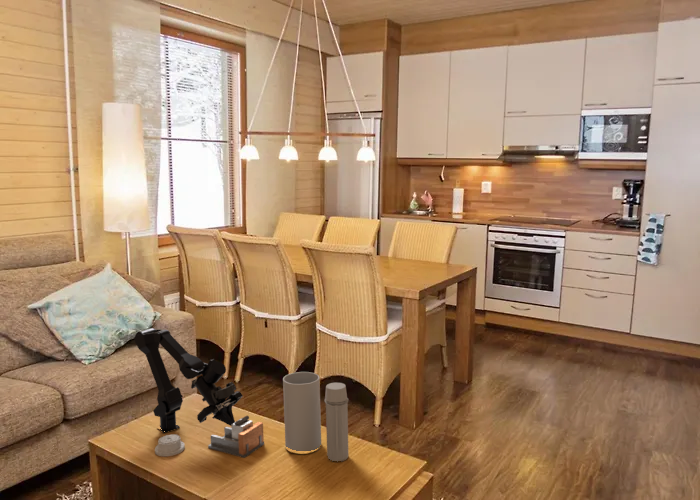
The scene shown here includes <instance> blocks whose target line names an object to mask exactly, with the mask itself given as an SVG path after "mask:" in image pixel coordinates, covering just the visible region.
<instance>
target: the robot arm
mask: <svg viewBox="0 0 700 500" xmlns="http://www.w3.org/2000/svg"><path fill="white" fill-rule="evenodd" d="M133 338H134V342H135V344H136V347H137V348H138V350H139V351H140V352H141V353H143V354H144V355H145V357H146V360H147V362H148V364H149V368H150V371H151V373H152V377H153V379H154V381H155V385H156V387H157V389H158V390H157V398H156V401H157V406H156V407H155V408H153V410H152V411H153V414H154V416H155V417H158V418H159V423H160V424H159V426H160V427H161V429H162V430H161V429H160V430H161V431H162V432H161V431H160V430H159V431H160V432H161V433H163V434H166V433H169V432H172V431H171V430H173V431H175V430H174V429H176V430H178V429H177V428H179V429H180V428H181V426H180V425H178V424H177V417H176V416H177V415H176V412H178V411H180V410H181V408H182V405H183V404H182V403H183V395H182V393H181V390H180V387H179V386H178V387H175V386H174V385H173V384H172V382H171V379H170V377H169V373H168V372H167V369H166V366H165V363H164V361H163V357H162V355H161V352H160V350H159V348H160V346H162V348H163V349H164V350H165V351H166V353H168V354H169V355H170V356H171V357H172V358H173V359H174V361H176V363H177V364H178V367H179V371H180V373H181V374H182V375H183V377H184V378H185V379H187V380H191V385H190V388H191V389H195V388H196V389H197V390H198V392H199V393H200V395H201V396H202V399H201V400H202V402H206V403H207V405H208V406H207V405H206V406H205V407H204V408H202V409H201V410H200V412H199V413H198V414H197V416H196V417H197V418H196V419H197V421H198V422H199V424H202V423H203V422H204V423H205V421H207V417H208V416H210V415H211V414H212V415H213V416H212V419H213V420H214V419H216V420H218V421H220V422H223V424H226V425H228V426H229V427H231V424H233V423H234V422H236V420H235V417H234V415H233V414H234V413H233V406H235V405H236V404H237V403H238V402H239V401H240V400H241V399H242V398H243V394H242V392H241V391H238V390H237V386H236V385H235V383H234V382H233V381H231V382H228V383H226V385H225V387H223V388H222V387H221V386H220V385H219V386H217V385H216V384H217V382H219V381H220V379H221V378H222V377H223V376H224V375H225V373H226V372H227V367H226V366H225V364H224V363H223V362H220V361H217V360H216V359H215V358H213V359H210V360H209V361H208V362H207V363H206V362H204V361H202V360H201V358H199V357H198V356H197V355H193V354H190V353H189V352H188V351H187V350H186V349H185V348H184V347H183V345H182V344H180V343H179V341H177V339H175V338H174V337H173V336H172V334H171V333H170V331H169V330H168V329H156V328H153V327H149V328H147V329H143V330H139V331H137V332H136V333H135V335H134V337H133ZM196 377H197V378H196ZM192 379H193V380H192ZM176 424H177V425H176ZM164 431H165V432H166V433H165V432H164ZM168 431H169V432H168Z"/></svg>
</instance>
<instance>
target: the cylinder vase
mask: <svg viewBox="0 0 700 500" xmlns="http://www.w3.org/2000/svg"><path fill="white" fill-rule="evenodd" d="M320 381H321V380H320V376H319V374H317V373H315V372H309V371H299V372H297V371H296V372H292V373H289V374H286V375H285V376H283V378H282V386H283V388H282V389H283V415H284V416H283V417H284V439H285V440H284V441H285V443H284V445H285V446H286V447H288V448H290V449H292V450H296V451H311V450H315V449H317V448H319V447H320V445H321V446H322V423H321V422H322V419H321V418H322V417H321V386H320V384H321V383H320ZM286 447H285V448H286ZM320 448H321V447H320ZM320 448H319V449H320Z"/></svg>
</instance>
